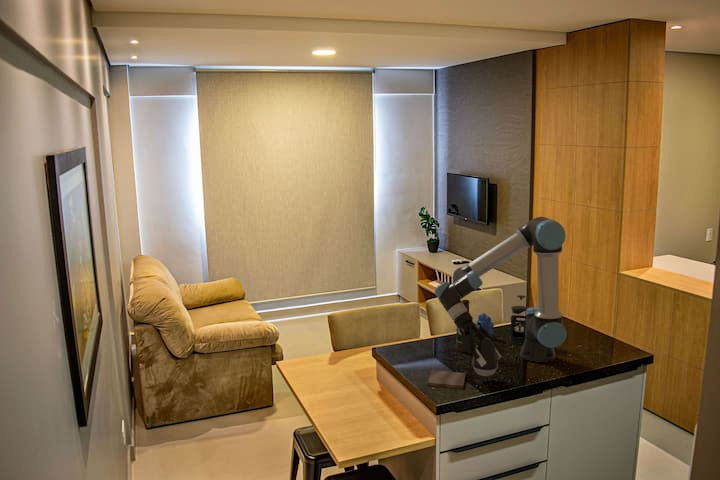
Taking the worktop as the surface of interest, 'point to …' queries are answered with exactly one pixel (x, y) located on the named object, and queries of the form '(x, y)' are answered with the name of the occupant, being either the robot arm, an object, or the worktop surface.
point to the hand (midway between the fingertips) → (491, 361)
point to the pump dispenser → (486, 357)
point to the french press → (517, 330)
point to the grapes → (486, 323)
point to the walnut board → (446, 379)
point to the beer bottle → (458, 341)
